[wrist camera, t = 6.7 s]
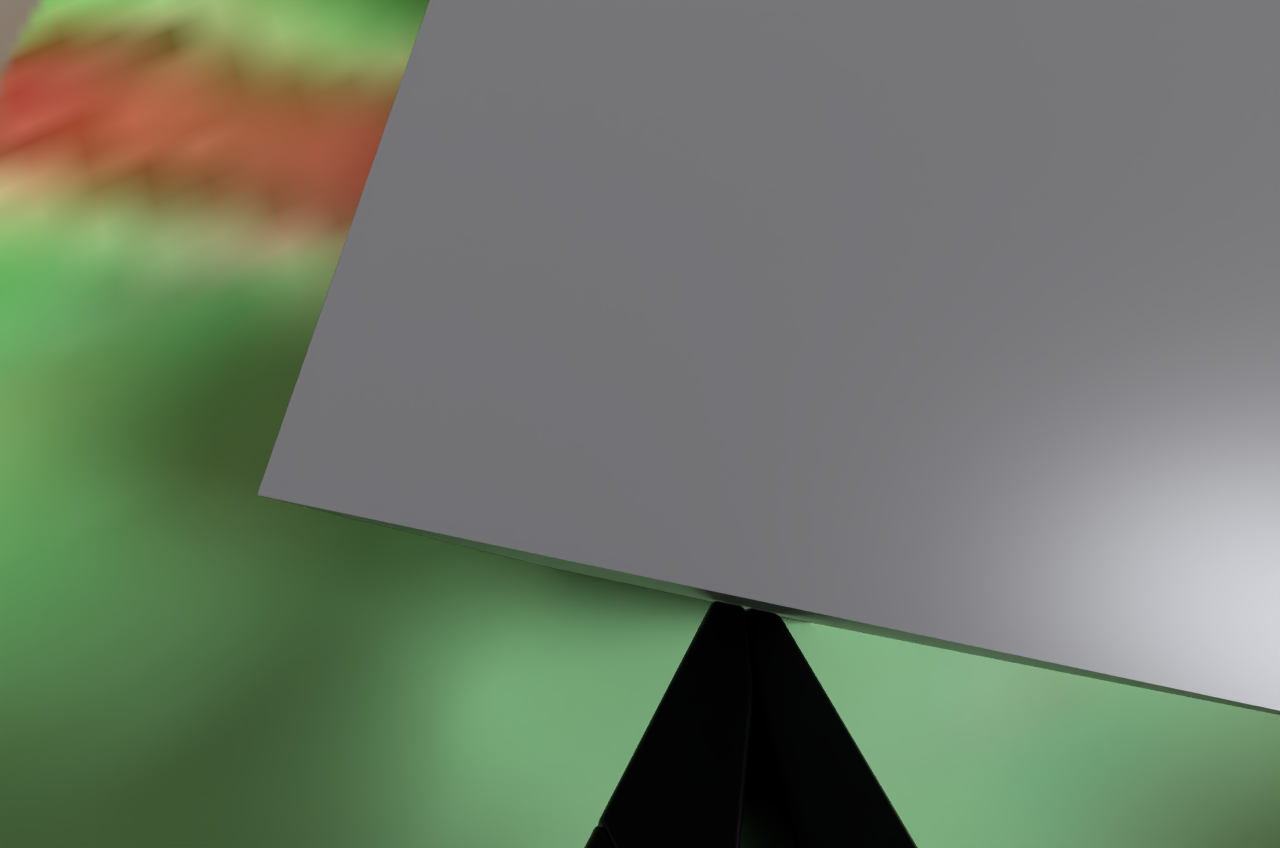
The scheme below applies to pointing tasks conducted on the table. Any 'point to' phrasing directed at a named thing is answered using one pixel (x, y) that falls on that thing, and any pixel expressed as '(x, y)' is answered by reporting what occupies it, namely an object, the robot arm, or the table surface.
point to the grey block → (834, 318)
